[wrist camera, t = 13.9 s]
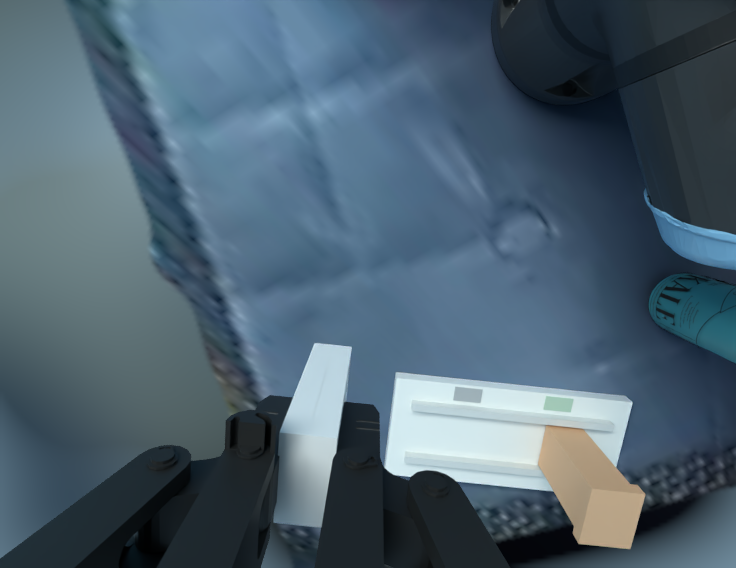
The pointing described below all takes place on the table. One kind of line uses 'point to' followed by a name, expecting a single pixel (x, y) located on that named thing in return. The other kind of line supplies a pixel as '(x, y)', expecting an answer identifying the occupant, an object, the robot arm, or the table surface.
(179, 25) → the table surface
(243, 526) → the robot arm
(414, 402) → the switch panel
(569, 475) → the switch tab
